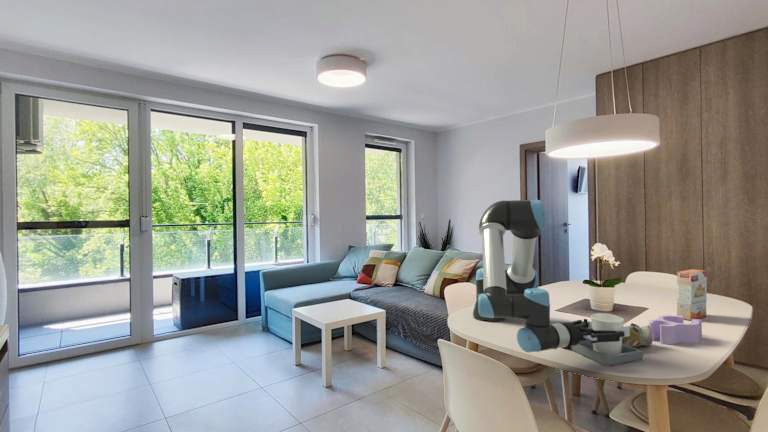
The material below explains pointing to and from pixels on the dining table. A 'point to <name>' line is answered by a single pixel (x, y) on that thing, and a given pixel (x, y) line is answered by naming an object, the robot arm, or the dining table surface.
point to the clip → (675, 330)
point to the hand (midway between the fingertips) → (615, 327)
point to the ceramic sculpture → (638, 336)
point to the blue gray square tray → (626, 356)
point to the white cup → (607, 324)
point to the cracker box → (691, 293)
